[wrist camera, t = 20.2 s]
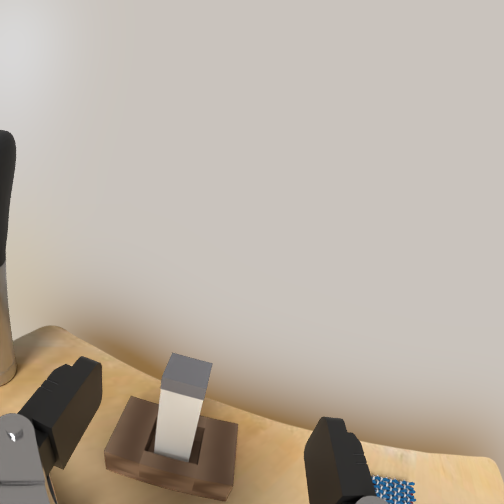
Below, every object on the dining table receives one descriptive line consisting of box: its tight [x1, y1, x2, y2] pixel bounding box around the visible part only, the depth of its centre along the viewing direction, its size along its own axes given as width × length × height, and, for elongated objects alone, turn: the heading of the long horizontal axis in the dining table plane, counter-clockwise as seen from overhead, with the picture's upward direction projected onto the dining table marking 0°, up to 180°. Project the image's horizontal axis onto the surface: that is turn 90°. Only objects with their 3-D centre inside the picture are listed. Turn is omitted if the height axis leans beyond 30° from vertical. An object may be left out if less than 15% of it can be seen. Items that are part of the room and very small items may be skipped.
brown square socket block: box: [104, 396, 238, 501], centre depth 32 cm, size 14×10×4 cm
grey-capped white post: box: [154, 353, 212, 462], centre depth 30 cm, size 4×4×14 cm
